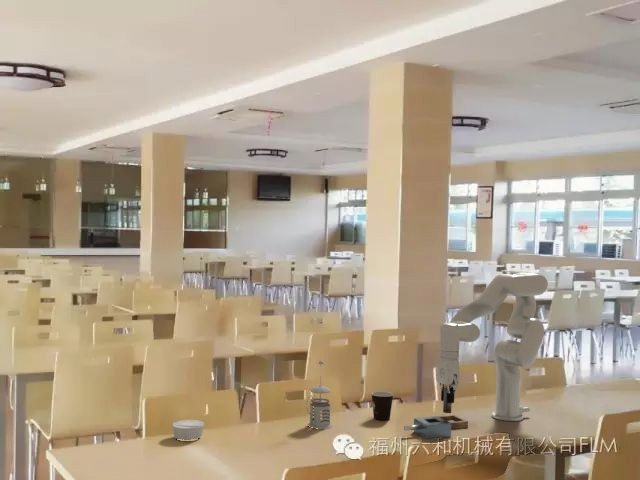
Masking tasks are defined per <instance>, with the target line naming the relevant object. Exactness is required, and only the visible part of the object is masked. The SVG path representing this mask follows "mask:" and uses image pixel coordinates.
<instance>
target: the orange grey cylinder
mask: <svg viewBox="0 0 640 480" xmlns="http://www.w3.org/2000/svg"><path fill="white" fill-rule="evenodd" d="M451 385H453V384H451ZM451 387H452V386H451ZM451 387H450V388H451ZM447 393H448V387H447V385H444V398H443V401H442V403H443V404H442V405H443V406H442V413H444V414H451V413H452V404H453V403H446V396H447Z"/></svg>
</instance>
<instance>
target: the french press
mask: <svg viewBox="0 0 640 480" xmlns="http://www.w3.org/2000/svg"><path fill="white" fill-rule="evenodd" d="M318 365H324V361H323V360H319V361H318ZM319 380H320V381H319V383H320V384H319V385H316V386H314V387H312V388H311V389H309V391H310V393H312V394H319V398H315V395H312V394H311V395H310V397H311V399H310V397H307V400H306V404H308V402H309V409H308V408H306V411H307V413H308V415H309V423H308V424H307V425H309V426H310V427H313V428H318V429H317V430H328V428H329V429H332V428H333V424H332V423H331V404H330V399H328V398H322V396H321V394H329V393H331V391H332V389H330V388H329V387H327V386H324V385H322V377H319ZM309 399H310V401H309Z"/></svg>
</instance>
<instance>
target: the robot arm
mask: <svg viewBox="0 0 640 480" xmlns="http://www.w3.org/2000/svg"><path fill="white" fill-rule="evenodd" d="M548 285H549V283H548V280H547V278H546V277H545V276H544V275H542V274H540V273H531V272H530V273H529V272H516V273H514V274H509V273H508V274H507V273H506V274H505V273H500V274H498V275H495V277H494V278H493V279H492V280H491V281H490V282H489V284H488V285H487V286H486V288H485V289H484V290H483V292H481V294H480V295H479V296H478V298H477V299H475V300H473V301H471V302H469V303H468V304H467V305H465V306H463V307H462V308H461V309H459V310H458V311H457V312H456V314H455V315H454V316H453V317H452V318H451V319H450V320H449V322H443V323H441V324H440V328H439V351H438V352H439V354H438V359H437V366H436V377H435V378H436V382H438V384H439V385H440V392H441V393H440V400H441V402H443V398H444V385H447V387H448V393H447V396H446V403H452V404H454V403H455V394H456V390H458V389H459V383H460V364H459V360H460V342H464V343H465V342H466V343H474V342H475V341H477V340H478V339H479V338H480V336H481V329H480V328H479V326H478V325H476V324H475V323H472V322H473V321H475V320H477V319H479V318H483V317H486V316H488V315H492V314H494V313H495V312H497V310H498V309H499V307H500V306H501V305H502V303H503V302H504V301H505V300H506V299H507V297H508V296H509V297H515V304H514V308H513V310H512V313H511V316H510V318H509V320H508V323H507V327H506V332H507V334H508V336H510V337H511V338H514V339H515V340H511V339H502V340H500V341H497V343H496V345H495V347H494V359H495V365H496V380H495V381H496V383H495V411H492V412H491V417H492V418H494V419H496V420H499V421H505V422H518V421H523V420H524V417H525V416H524V413H529V412H530V411H531V410H530V407H529V406H525V407H523V406H521V381H522V380H521V379H522V378H521V370H520V369H521V368H528V367H531V366H532V365H533V363H534V362H535V360H536V359H537V356H538V352H539V349H540V348H541V344H542V342H543V340H544V336H545V327H544V324H543V322H542V321H541V320H539V319H538V318H536V317H535V314H536V311H537V302H536V301H537V300H536V298H535V296H541V295H543V294H544V293H546V291H547V289H548ZM534 317H535V318H534ZM516 339H517V340H520V341H517V340H516ZM451 384H452V385H451ZM451 386H452V387H451ZM450 387H451V388H450Z"/></svg>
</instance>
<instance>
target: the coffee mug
mask: <svg viewBox="0 0 640 480" xmlns="http://www.w3.org/2000/svg"><path fill="white" fill-rule="evenodd" d="M393 397H394V394H393V393H392V392H389V391H374V392H371V402H372V413H373V420H375V421H378V422H388V421H390V419H391V412H392V405H393V399H394V398H393Z"/></svg>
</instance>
